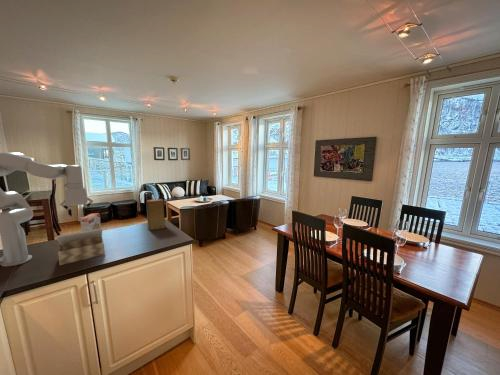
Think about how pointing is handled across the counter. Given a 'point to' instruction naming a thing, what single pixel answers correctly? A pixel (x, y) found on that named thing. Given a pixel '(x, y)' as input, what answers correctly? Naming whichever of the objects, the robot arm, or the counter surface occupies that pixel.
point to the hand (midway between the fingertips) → (78, 214)
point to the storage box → (80, 250)
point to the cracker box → (90, 222)
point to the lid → (79, 236)
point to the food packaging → (155, 214)
